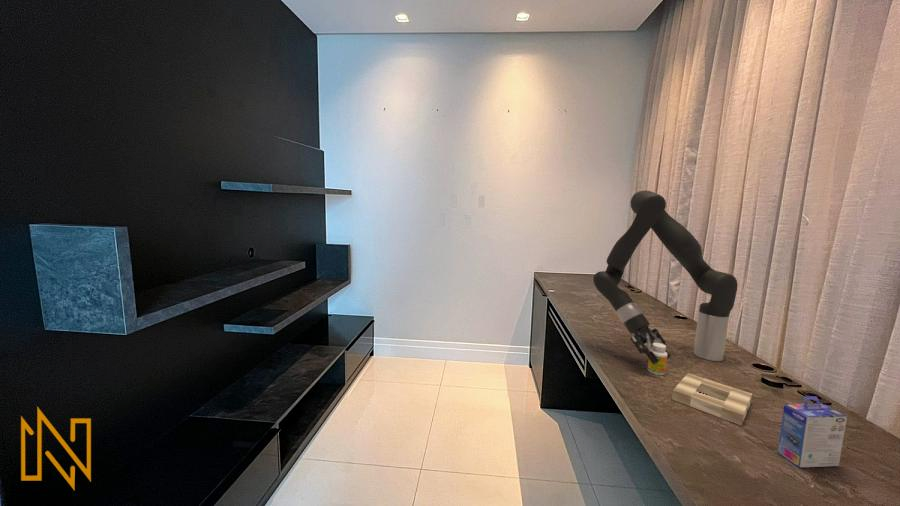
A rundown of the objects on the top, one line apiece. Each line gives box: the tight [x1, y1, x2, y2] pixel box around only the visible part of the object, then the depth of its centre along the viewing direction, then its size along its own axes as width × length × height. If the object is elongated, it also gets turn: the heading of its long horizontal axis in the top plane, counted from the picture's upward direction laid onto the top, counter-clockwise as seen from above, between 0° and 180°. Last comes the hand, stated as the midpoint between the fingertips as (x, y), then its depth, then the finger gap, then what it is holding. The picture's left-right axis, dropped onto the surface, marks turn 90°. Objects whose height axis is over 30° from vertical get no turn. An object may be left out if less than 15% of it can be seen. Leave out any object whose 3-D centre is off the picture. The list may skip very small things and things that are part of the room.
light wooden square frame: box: [671, 372, 753, 426], centre depth 101 cm, size 16×16×3 cm
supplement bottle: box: [647, 343, 668, 376], centre depth 118 cm, size 5×5×10 cm
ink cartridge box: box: [777, 395, 848, 468], centre depth 78 cm, size 10×6×14 cm, turn 95°
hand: (662, 360), depth 117 cm, fingers open, 7 cm apart
